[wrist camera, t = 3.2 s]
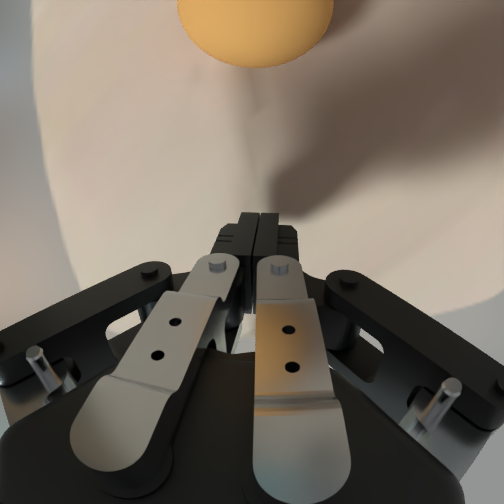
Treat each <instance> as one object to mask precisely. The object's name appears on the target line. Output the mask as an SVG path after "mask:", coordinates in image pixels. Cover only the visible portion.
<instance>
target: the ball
mask: <svg viewBox="0 0 504 504" xmlns="http://www.w3.org/2000/svg"><path fill="white" fill-rule="evenodd" d="M333 6H334V0H177V8H178V14H179V18H180V21H181V23H182V26H183V28H184V30H185V31H186V33H187V35H188V36H189V37H190V39H191V40H192V41H193V42H194V43H195V44H196V45H197V46H198V47H199V48H200V49H201V50H203V51H204V52H206V53H207V54H208V55H210V56H212V57H214V58H215V59H217V60H220V61H222V62H225V63H228V64H231V65H235V66H241V67H248V68H263V67H271V66H277V65H280V64H284V63H287V62H289V61H292V60H294V59H296V58H298V57H299V56H301V55H303V54H304V53H306V52H307V51H309V50H310V49H311V48H312V47H313V46H314V45H315V44H317V43H318V41H319V40H320V39H321V38H322V36H323V35H324V33H325V32H326V30H327V28H328V26H329V23H330V21H331V18H332V13H333Z"/></svg>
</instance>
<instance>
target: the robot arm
mask: <svg viewBox="0 0 504 504" xmlns="http://www.w3.org/2000/svg"><path fill="white" fill-rule="evenodd" d="M278 222H279V213H261V215H260V213H251V212H242V213H241V215H240V218H239V221H238V224H229V223H228V224H227V225H225V226H224V227H223V228H221V229H220V232H219V234H218V236H217V239H216V242H215V243H214V246H213V248H212V251H211V253H210V254H209V255H206V256H203V257H202V258H200V259H199V260H198V261H197V262H196V264H195V265H194V267H193V269H192V270H191V272H186V273H179V274H172V272H171V268H170V266H169V265H168V264H166V263H164V262H159V261H152V262H146V263H142V264H140V265H137V266H135V267H133V268H131V269H129V270H126V271H124V272H122V273H120V274H118V275H116V276H113V277H111V278H109V279H107V280H105V281H102V282H100V283H98V284H96V285H94V286H92V287H90V288H87V289H85V290H83V291H81V292H79V293H77V294H75V295H73V296H71V297H68V298H66V299H64V300H62V301H60V302H58V303H56V304H54V305H52V306H50V307H48V308H46V309H44V310H42V311H39V312H37V313H35V314H33V315H32V316H29V317H27V318H26V319H23V320H22V321H20V322H17V323H15V324H13V325H11V326H9V327H7V328H5V329H3V330H1V331H0V395H1V398H2V402H3V405H4V409H5V412H6V415H7V419H8V422H9V425H10V427H9V428H8V429H7V430H6V431H5V432H4V434H3V436H2V437H1V439H0V504H465V499H464V493H463V490H462V487H461V485H460V483H459V481H460V480H461V478H462V477H463V476H464V474H465V473H466V472H467V470H468V469H469V467H470V466H471V464H472V463H473V462H474V460H475V458H476V457H477V456H478V454H479V452H480V451H481V449H482V448H483V446H484V445H485V443H486V441H487V440H488V439H489V438H490V437H491V436H492V435H493V434H494V433H495V432H496V431H497V430H498V429H499V428H500V427H501V426H502V425H503V423H504V366H503V365H501V364H500V363H498V362H497V361H496V360H494V359H493V358H491V357H490V356H488V355H487V354H485V353H484V352H482V351H481V350H479V349H478V348H476V347H475V346H474V345H472V344H471V343H469V342H468V341H466V340H464V339H463V338H462V337H460V336H459V335H457V334H456V333H454V332H453V331H451V330H450V329H448V328H447V327H445V326H443V325H442V324H440V323H439V322H437V321H436V320H434V319H433V318H431V317H430V316H428V315H427V314H425V313H423V312H422V311H420V310H419V309H417V308H416V307H414V306H412V305H411V304H409V303H408V302H406V301H405V300H403V299H401V298H400V297H398V296H397V295H395V294H393V293H392V292H390V291H389V290H387V289H385V288H384V287H382V286H381V285H379V284H377V283H376V282H374V281H372V280H371V279H369V278H368V277H366V276H364V275H363V274H361V273H358V272H355V271H351V270H337V271H334V272H332V273H330V274H329V275H328V276H327V277H326V280H322V279H318V278H314V277H312V276H310V275H308V274H306V273H305V272H303V271H302V266H301V264H300V263H299V252H298V239H297V231H296V230H295V229H294V228H293V227H292V226H291V225H278ZM252 307H253V314H256V342H255V343H256V344H255V346H256V347H255V352H248V353H240V354H235V351H236V348H237V344H238V341H239V338H240V334H241V331H242V320H243V316H244V313H246V314H251V313H252ZM137 309H138V313H139V316H140V320H141V323H140V324H138V325H136V326H134V327H132V328H130V329H129V330H127V331H125V332H123V333H121V334H119V335H117V336H116V337H114V338H112V339H110V340H107V338H106V334H105V332H106V329H107V327H108V326H109V324H111V323H112V322H114V321H116V320H118V319H120V318H121V317H123V316H125V315H127V314H129V313H131V312H133V311H135V310H137ZM361 328H362V329H363V330H364V331H366V332H367V333H369V334H370V335H371V336H373V337H374V338H375V339H377V340H378V341H379V342H380V344H381V345H382V347H383V350H384V354H383V353H382V352H381V351H379V350H378V349H377V348H375V347H374V346H373V345H372V344H370V343H369V342H368V341H366V340H365V339H364V338H362V337H361V336H360V335H359V333H360V329H361ZM328 364H329V365H330V366H331V367H332V368H333V369H331V368H329V365H328ZM335 370H336V371H335ZM398 424H399V425H398Z"/></svg>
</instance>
